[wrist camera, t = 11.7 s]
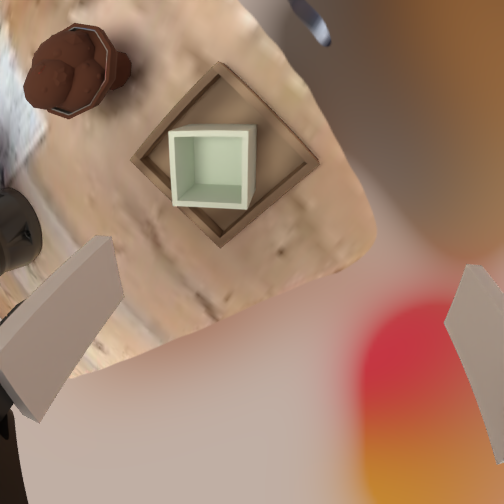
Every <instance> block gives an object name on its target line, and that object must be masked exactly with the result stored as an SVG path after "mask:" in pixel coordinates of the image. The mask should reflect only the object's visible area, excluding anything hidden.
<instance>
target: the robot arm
mask: <svg viewBox="0 0 504 504" xmlns="http://www.w3.org/2000/svg"><path fill="white" fill-rule="evenodd" d="M41 244H42V237H41V230H40V225H39V222H38V219H37V217H36V214H35V212H34V210H33V208H32V207H31V205H30V204H29V202H28V201H27V200H26V198H25V197H24V196H23V195H22V194H20V193H19V192H18V191H16V190H14V189H11V188H4V189H1V190H0V276H1V275H2V274H3V273H5V272H7V271H11V270H14V269H17V268H20V267H23V266H26V265H28V264H29V263H31V262H32V261H33V260H34V259H35V258H36V257H37V256H38V255H39V253H40V250H41ZM123 298H124V293H123V289H122V284H121V280H120V275H119V271H118V266H117V261H116V256H115V251H114V246H113V241H112V236H99V235H95V236H94V237H93V238H92V239H91V240H89V241H88V242H87V243H86V244H85V245H84V246H83V247H81V248H80V249H79V250H78V251H77V252H76V253H75V254H73V255H72V256H71V257H70V258H69V259H68V260H67V261H66V262H65V263H63V264H62V265H61V266H60V267H59V268H58V269H57V270H56V271H55V272H54V273H53V274H52V275H51V276H49V277H48V278H47V279H46V280H45V281H44V282H43V283H42V284H41V285H40V286H39V287H38V288H37V289H36V290H35V291H34V292H33V293H32V294H31V295H30V296H29V297H28V298H27V299H25V300H24V301H22V302H20V303H19V304H17V305H16V306H15V307H14V308H13V309H12V310H11V311H10V312H9V313H8V314H7V315H8V316H7V317H6V316H5V317H4V319H3V320H2V321H1V322H0V504H28V500H27V496H26V491H25V487H24V482H23V477H22V472H21V466H20V460H19V454H18V448H17V439H16V431H15V420H14V415H13V412H12V410H11V409H10V408H11V406H12V405H13V403H14V404H15V405H16V407H17V408H18V409H19V410H20V412H21V413H22V414H23V415H24V416H26V417H28V418H30V419H32V420H34V421H36V422H38V423H40V422H41V420H42V419H43V417H44V415H45V414H46V412H47V410H48V409H49V407H50V406H51V404H52V402H53V401H54V399H55V398H56V396H57V394H58V393H59V391H60V390H61V388H62V386H63V385H64V383H65V382H66V380H67V379H68V377H69V376H70V374H71V373H72V371H73V370H74V368H75V367H76V365H77V364H78V362H79V361H80V359H81V358H82V356H83V355H84V353H85V352H86V350H87V349H88V347H89V346H90V344H91V343H92V341H93V340H94V339H95V337H96V336H97V334H98V333H99V331H100V330H101V329H102V327H103V326H104V324H105V323H106V322H107V320H108V319H109V317H110V316H111V315H112V313H113V312H114V310H115V309H116V308H117V306H118V305H119V304H120V302H121V301H122V300H123ZM444 325H445V327H446V329H447V331H448V333H449V335H450V337H451V340H452V342H453V344H454V346H455V349H456V351H457V353H458V355H459V358H460V360H461V362H462V365H463V367H464V369H465V372H466V374H467V377H468V379H469V382H470V384H471V387H472V390H473V392H474V395H475V397H476V400H477V403H478V406H479V409H480V412H481V414H482V417H483V420H484V423H485V426H486V430H487V432H488V436H489V439H490V442H491V446H492V449H493V453H494V456H495V460H496V463H497V464H500V463H504V293H503V292H502V291H501V289H500V288H499V287H498V285H497V284H496V283H495V282H494V280H493V279H492V278H491V276H490V275H489V274H488V273H487V271H486V270H485V269H484V268H483V267H482V266H481V265H471V264H466V267H465V270H464V273H463V276H462V278H461V281H460V284H459V287H458V289H457V292H456V294H455V297H454V300H453V302H452V305H451V307H450V309H449V312H448V314H447V317H446V319H445V321H444Z"/></svg>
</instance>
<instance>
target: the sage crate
mask: <svg viewBox="0 0 504 504" xmlns="http://www.w3.org/2000/svg"><path fill="white" fill-rule="evenodd" d="M168 135H169V158H170V175H171V191H172V204H173V206H185V207H207V208H226V209H244V210H247V209H248V207H249V204H250V202H251V199H252V197H253V194H254V192H255V190H256V146H257V124H189V125H186V126H183V127H180V128H177V129H174V130H171V131H168Z"/></svg>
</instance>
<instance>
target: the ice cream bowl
mask: <svg viewBox="0 0 504 504" xmlns="http://www.w3.org/2000/svg"><path fill="white" fill-rule="evenodd" d="M130 74H131V61H130V60H129V58H128V57H127V55H126V53H122V52H118V51H116V50H115V48H114V47H113V45H112V43H111V42H110V40H109V39H108V37H107V35H106V34H105V32H104V30H102V29H101V28H99V27H96V26H90V25H84V24H77V23H74V24H72V25H71V26H69V27H67V28H66V29H64V30H63V31H60V32H58V33H57V34H55V35H52V36H51V37H50V38H49V39H47V40H46V41H45V42H43V43H42V44H41V45H40V46H39V48H38V50H37V51H36V52H35V53H34V57H33V59H32V68H31V69H30V70H29V72H28V75H27V77H26V80H25V83H24V86H23V87H24V93H25V98H26V100H27V101H28V102H29V103H30V104H31V105H32V106H33V107H34V108H40V109H47V111H48V112H50V113H52V114H55V115H58V116H61V117H64V118H66V119H71V118H73V117H75V116H77V115H79V114H81V113H83V112H85V111H87V110H89V109H92V108H94V107H95V106H97V105H99V103H100V102H101V101H102V100H103V98H104V96H105V95H106V93H107V92H108V90H109V89H110V90H114V89H117V88H119V87H122V86H123V85H124V84H125V82H126V81H127V79H128V78H129V77H130Z"/></svg>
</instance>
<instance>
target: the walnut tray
mask: <svg viewBox="0 0 504 504" xmlns="http://www.w3.org/2000/svg"><path fill="white" fill-rule="evenodd" d="M189 124H257V146H256V190H255V192H254V194H253V197H252V199H251V202H250V204H249V207H248V209H247V210H244V209H226V208H207V207H185V206H177V207H178V208H179V209H180V210H181V211H182V212H183V213H184V214H185V215H186V216H187V217H188V218H189V219H190V220H191V221H192V222H193V223H194V224H195V225H196V226H197V227H199V228H200V229H201V230H202V231H203V232H204V233H205V234H206V235H207V236H208V237H209V238H210V239H211V240H212V241H213V242H214V243H215V244H216V245H217V246H218V247H219V248H221V247H223V246H224V245H225V244H226V243H227V242H228V241H230V240H231V239H232V238H233V237H234V236H235V235H237V234H238V233H239V232H240V231H241V230H242V229H244V228H245V227H246V226H247V225H248V224H250V223H251V222H252V221H253V220H254V219H255V218H257V217H258V216H259V215H260V214H261V213H263V212H264V211H265V210H266V209H267V208H268V207H270V206H271V205H272V204H273V203H274V202H276V201H277V200H278V199H279V198H280V197H282V196H283V195H284V194H285V193H286V192H288V191H289V190H290V189H291V188H292V187H294V186H295V185H296V184H297V183H298V182H300V181H301V180H302V179H303V178H304V177H306V176H307V175H308V174H309V173H310V172H312V171H313V170H314V169H315V168H317V167H318V166H319V165H320V164H319V161H318V159H317V158H316V157H315V156H314V154H313V153H312V152H311V151H310V150H309V149H308V148H307V147H306V146H305V144H304V143H303V142H302V141H301V140H300V139H299V138H298V137H297V136H296V135H295V134H294V132H293V131H292V130H291V129H290V128H289V127H288V126H287V125H286V124H285V123H284V122H283V121H282V120H281V119H280V118H279V117H278V116H277V115H276V113H275V112H274V111H273V110H272V109H271V108H270V107H269V106H268V105H267V104H266V103H265V102H264V101H263V100H262V99H261V98H260V97H259V96H258V95H257V94H256V93H255V92H254V91H253V90H252V89H251V88H249V87H248V86H247V85H246V84H245V83H244V82H243V81H242V80H241V79H240V78H239V77H238V76H237V75H236V74H235V73H234V72H233V71H232V70H230V69H229V68H228V67H227V66H226V65H225V64H224V63H221V62H219V61H218V62H217V63H216V64H215V65H214V66H213V67H212V68H211V69H210V70H209V71H208V72H207V73H206V74H205V75H204V76H203V77H202V78H201V79H200V80H199V81H198V82H197V83H196V84H195V85H194V86H193V87H192V88H191V89H190V90H189V91H188V93H187V94H186V95H185V96H184V97H183V98H182V99H181V100H180V101H179V102H178V103H177V104H176V106H175V107H174V108H173V109H172V110H171V111H170V112H169V113H168V115H167V116H166V117H165V118H164V119H163V120H162V121H161V123H160V124H159V125H158V126H157V127H156V128H155V130H154V131H153V132H152V133H151V134H150V136H149V137H148V138H147V139H146V140H145V142H144V143H143V144H142V145H141V147H140V148H139V149H138V150H137V152H136V153H135V154H134V155H133V157H132V158H131V159H130V161H131V162H132V163H133V164H134V165H135V166H136V167H137V168H138V169H139V170H140V171H141V172H142V173H143V174H144V175H145V176H146V177H147V178H148V179H149V180H150V181H151V182H152V183H153V184H154V185H155V186H156V187H157V188H158V189H159V190H160V191H161V192H162V193H164V194H165V195H166V196H167V197H168V198H169V199H170V200H171V201H172V191H171V175H170V158H169V135H168V131H171V130H174V129H177V128H180V127H183V126H186V125H189Z"/></svg>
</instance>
